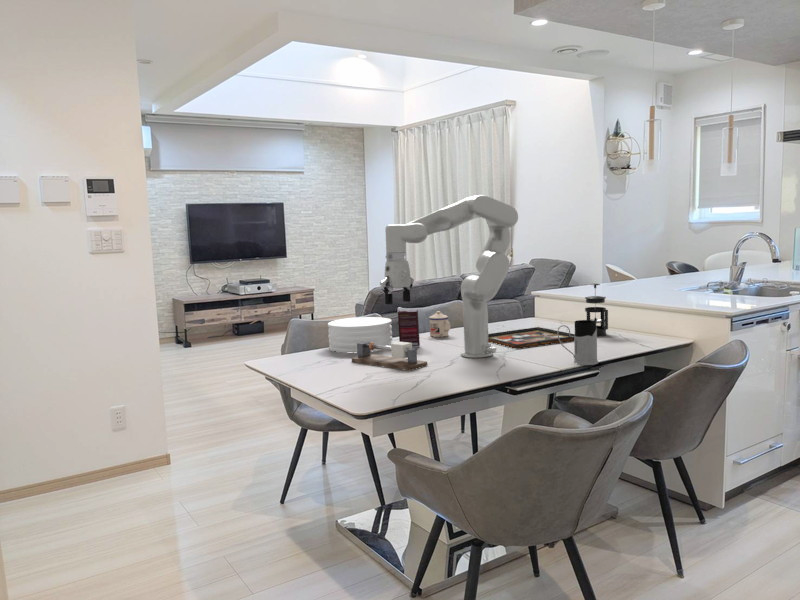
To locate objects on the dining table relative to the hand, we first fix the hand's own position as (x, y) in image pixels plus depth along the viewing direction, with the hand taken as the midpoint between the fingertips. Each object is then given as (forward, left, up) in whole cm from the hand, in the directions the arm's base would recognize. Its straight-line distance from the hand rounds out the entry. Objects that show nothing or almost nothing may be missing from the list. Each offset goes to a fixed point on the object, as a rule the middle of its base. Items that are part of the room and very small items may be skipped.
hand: (397, 302), depth 238 cm
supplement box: (+19, -27, -24) cm, 41 cm away
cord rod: (+4, +3, -22) cm, 22 cm away
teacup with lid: (+24, -56, -24) cm, 65 cm away
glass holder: (-56, -34, -24) cm, 70 cm away
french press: (-37, -91, -24) cm, 101 cm away
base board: (+4, +3, -23) cm, 24 cm away
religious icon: (-16, -67, -24) cm, 73 cm away
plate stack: (+39, -18, -24) cm, 49 cm away
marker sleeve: (-3, +3, -20) cm, 20 cm away
